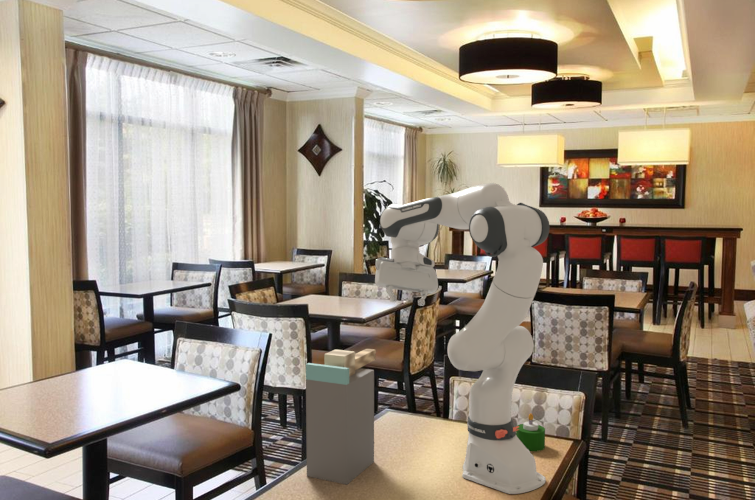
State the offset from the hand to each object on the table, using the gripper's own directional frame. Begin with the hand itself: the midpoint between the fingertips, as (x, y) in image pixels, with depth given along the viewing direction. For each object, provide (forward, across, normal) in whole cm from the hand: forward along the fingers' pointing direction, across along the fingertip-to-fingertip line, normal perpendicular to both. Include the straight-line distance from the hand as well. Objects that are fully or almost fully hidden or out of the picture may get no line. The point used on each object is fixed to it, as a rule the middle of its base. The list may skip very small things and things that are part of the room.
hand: (407, 303), depth 196 cm
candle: (+41, +38, -2) cm, 56 cm away
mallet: (+21, -18, 0) cm, 28 cm away
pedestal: (+47, -19, +7) cm, 51 cm away
